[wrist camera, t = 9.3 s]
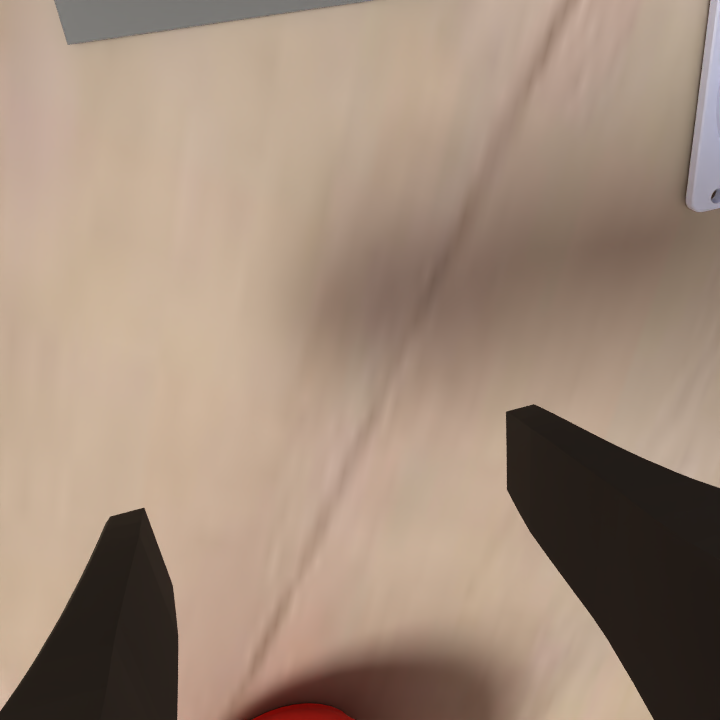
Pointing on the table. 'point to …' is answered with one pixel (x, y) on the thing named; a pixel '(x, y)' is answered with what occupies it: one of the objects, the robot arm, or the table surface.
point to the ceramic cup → (305, 713)
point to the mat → (165, 14)
